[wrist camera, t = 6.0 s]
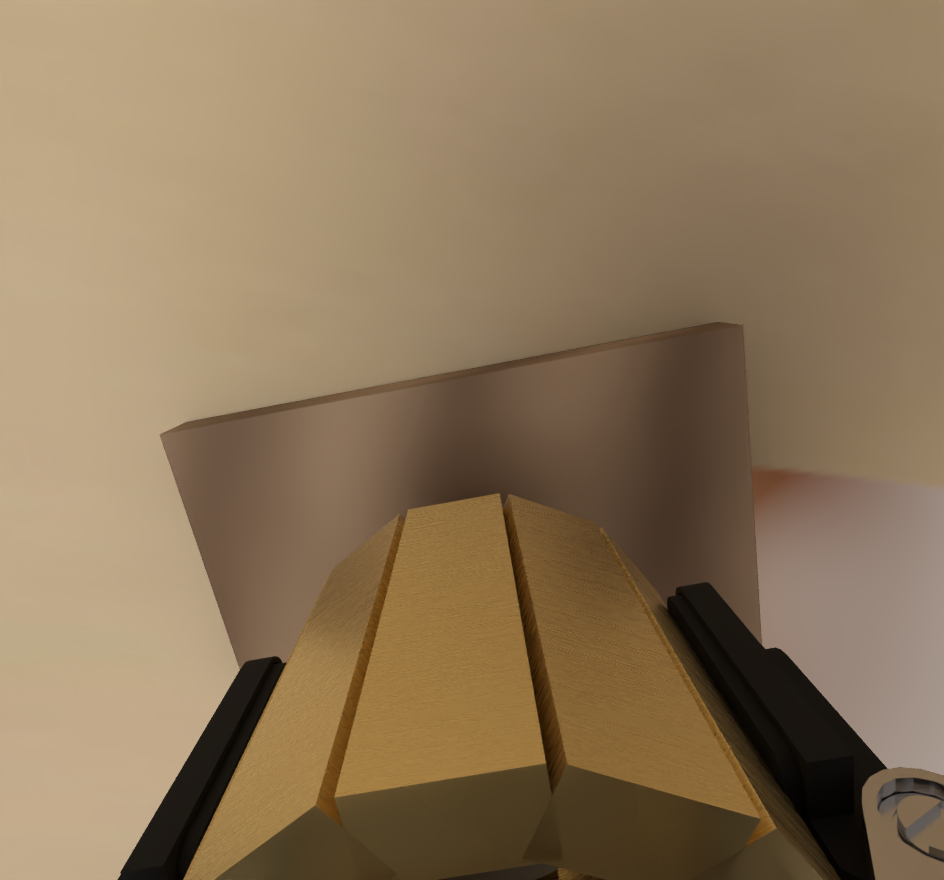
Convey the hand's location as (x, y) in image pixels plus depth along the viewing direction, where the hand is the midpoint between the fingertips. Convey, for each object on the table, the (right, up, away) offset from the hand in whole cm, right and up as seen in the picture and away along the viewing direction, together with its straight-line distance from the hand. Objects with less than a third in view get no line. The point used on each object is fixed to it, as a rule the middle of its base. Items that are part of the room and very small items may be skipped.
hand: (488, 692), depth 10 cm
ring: (0, 0, +1) cm, 1 cm away
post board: (0, +2, +7) cm, 8 cm away
